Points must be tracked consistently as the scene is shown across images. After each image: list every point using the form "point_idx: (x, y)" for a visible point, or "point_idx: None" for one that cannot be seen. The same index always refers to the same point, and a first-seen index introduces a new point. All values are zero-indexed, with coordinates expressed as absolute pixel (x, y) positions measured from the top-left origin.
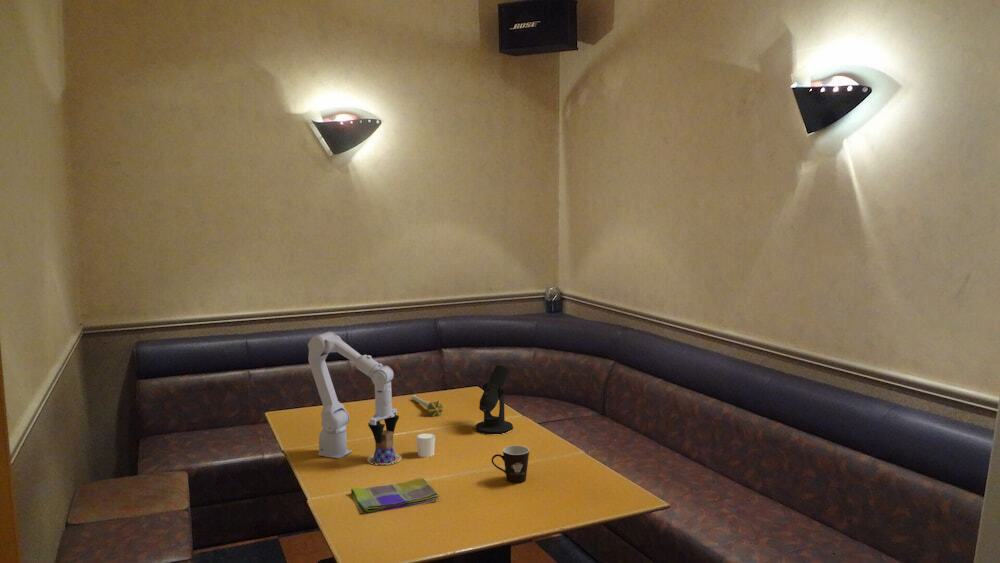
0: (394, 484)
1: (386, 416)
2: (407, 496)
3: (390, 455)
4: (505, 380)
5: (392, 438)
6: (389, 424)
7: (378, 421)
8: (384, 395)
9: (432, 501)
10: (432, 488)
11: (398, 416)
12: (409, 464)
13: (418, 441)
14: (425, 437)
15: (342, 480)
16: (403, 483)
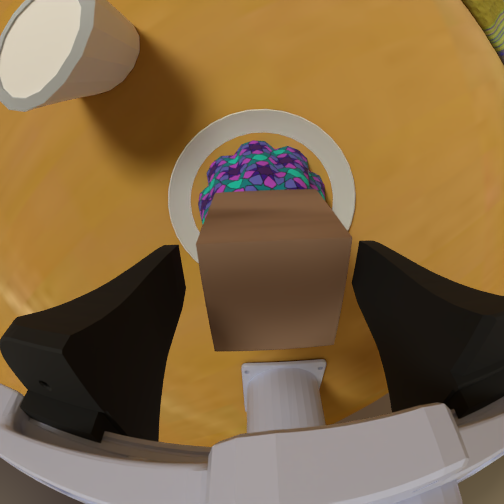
0: (499, 37)
1: (475, 462)
2: None
3: (285, 162)
4: None
5: (219, 213)
6: (149, 346)
7: (464, 415)
8: None
9: None
10: None
11: (11, 337)
12: (270, 39)
13: (98, 47)
14: (56, 19)
15: (489, 238)
16: (487, 6)
